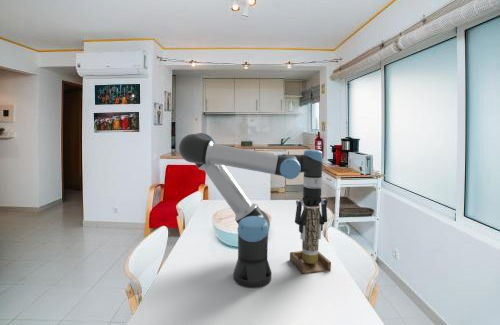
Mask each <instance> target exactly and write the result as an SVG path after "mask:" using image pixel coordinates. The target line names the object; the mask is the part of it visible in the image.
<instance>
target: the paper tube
mask: <svg viewBox="0 0 500 325" xmlns="http://www.w3.org/2000/svg"><path fill="white" fill-rule="evenodd" d="M303 208H304V212H305V211H306V220H305V222H304V225H305V241H303V240H302V241H301V243H302V245H301V246H302V247H301V248H302V249H301V251H302V260H303V261H304V262H305V263H309V264H314V263H316V262H317V261H318V251H319V240H320V239H319V218H320V212H321V210H320V209H321V204H319V206H316V205H315V206H306V205H304V204H303Z"/></svg>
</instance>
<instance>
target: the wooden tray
mask: <svg viewBox="0 0 500 325" xmlns="http://www.w3.org/2000/svg"><path fill="white" fill-rule="evenodd" d="M289 261H290V262H291V263H292V264H293V265H294V267H295V268H297V270H298V271H299V272H300V273H301V274H302V275H307V274H315V273H322V272H328V271H329V272H330V271H331V270H332V262H331V261H330V260H329V259H328V258H326V257H325V255H323V254H322V253H321V252H320V251H319V250H318V261H317V262H316V263H314V264H309V263H305V262H304V261H303V260H302V250H299V251H298V250H297V251H291V252H289Z"/></svg>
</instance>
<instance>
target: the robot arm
mask: <svg viewBox="0 0 500 325" xmlns="http://www.w3.org/2000/svg"><path fill="white" fill-rule="evenodd" d="M178 151H179V154H180V156H181V158H182V159H183V160H184V161H185V162H188V163H192V164H195V166H196V167H197V168H198V170H201V171H204V172H205V173H206V175H207V176H208V178H209V179H210V181H211V182H212V183H213V186H214V187H215V188H216V189H217V191H218V192H219V193H220V195H221V196H222V197H223V199H224V200H225V202H226V203H227V205H228V206H229V208H230V209H231V210H232V211H233V213H234V214H235V217H234V218H235V219H234V220H235V222H236V223H237V225H238V226H237V246H238V247H237V260H236V264H235V267H234V269H233V280H234V282H235V283H236V284H238V285H240V286H241V287H245V288H251V289H253V288H254V289H255V288H260V287H264V286H267V285H269V283H270V282H271V281H272V269H271V266H270V263H269V260H268V247H269V246H268V243H269V242H268V240H269V232H270V227H271V226H270V225H271V223H270V219H269V217H268V214H266V213H265V211H263V210H261V208H260V207H259V206H258V204H256V203H253V202H251V200H250V198H248V196H247V195H246V193H245V192H244V190H243V188H242V187H241V186H240V185H239V184H238V182H237V180H236V179H235V178H234V176H233V174H232V173H231V172H230V171H229V168H227V167H232V168H238V169H243V170H249V171H254V172H259V173H264V174H270V175H275V176H279V177H280V176H281V177H283V178H285V179H287V180H294V179H296V178H297V177H299V175H300V173H303V184H302V185H303V189H302V199H301V200H296V201H295V205H296V210H295V218H294V223H295V224H296V225H298V232H299V233H300V239H301V241H302V242H303V241H305V225H304V222H305V220H306V211H305V212H304V207H302V206H304V205H306V206H315V205H316V206H319V205H320V209H321V210H320V218H319V240H321V238H322V231H323V229H324V225H325V223H327V222H328V213H327V212H328V211H327V205H328V200H327V199H326V198H322V184H323V182H322V181H323V180H322V179H323V163H324V161H323V151H321V150H318V149H306V150H304V152H303V154H285V153H284V154H283V153H282V154H272V153H268V152H262V151H256V150H251V149H245V148H240V147H234V146H229V145H224V144H223V145H222V144H218V143H216V141H215V140H214V139H213V137H212V136H210V135H209V134H207V133H204V132H198V133H191V134H187V135H185V136H184V137H182V139H181V140H180V142H179V145H178Z"/></svg>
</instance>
